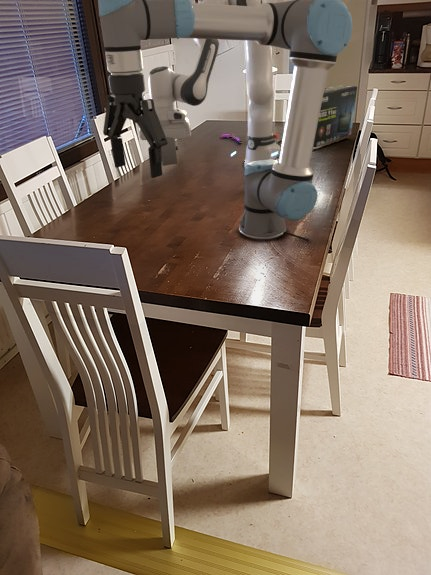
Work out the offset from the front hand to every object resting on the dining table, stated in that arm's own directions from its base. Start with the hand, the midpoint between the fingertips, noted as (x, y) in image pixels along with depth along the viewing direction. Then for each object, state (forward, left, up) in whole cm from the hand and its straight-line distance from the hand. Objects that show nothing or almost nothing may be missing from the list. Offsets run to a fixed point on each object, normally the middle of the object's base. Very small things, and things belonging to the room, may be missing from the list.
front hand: (138, 171), depth 109 cm
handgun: (+55, -148, -30) cm, 161 cm away
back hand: (+40, -66, -15) cm, 79 cm away
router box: (+5, -161, -30) cm, 164 cm away
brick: (+40, -66, -20) cm, 80 cm away
